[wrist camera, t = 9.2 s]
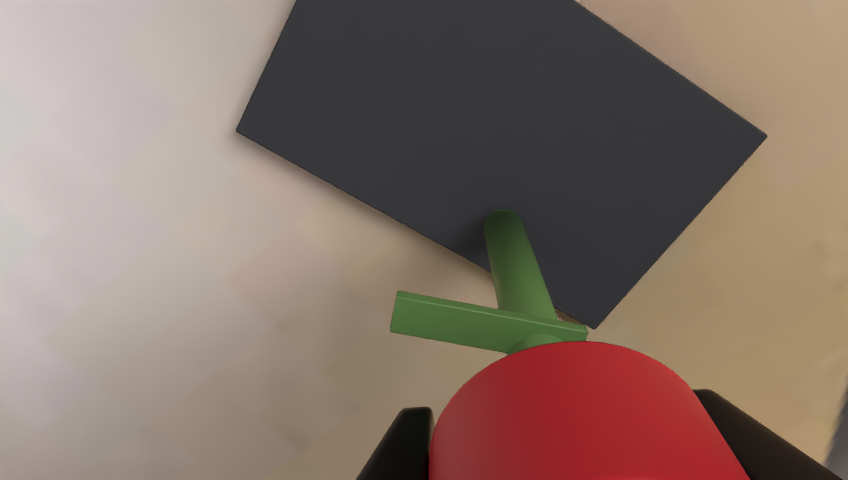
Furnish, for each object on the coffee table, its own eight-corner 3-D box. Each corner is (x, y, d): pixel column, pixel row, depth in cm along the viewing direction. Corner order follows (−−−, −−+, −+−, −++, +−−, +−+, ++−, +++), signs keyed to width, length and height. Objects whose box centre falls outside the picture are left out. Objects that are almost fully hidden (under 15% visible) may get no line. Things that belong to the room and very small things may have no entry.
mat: (760, 131, 13) (769, 136, 13) (591, 321, 15) (595, 330, 15) (366, -143, 11) (364, -146, 11) (239, 126, 13) (234, 131, 13)
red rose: (598, 200, 13) (1006, 729, 4) (518, 304, 15) (678, 920, 5) (454, 111, 13) (509, 486, 3) (382, 228, 14) (255, 770, 4)
